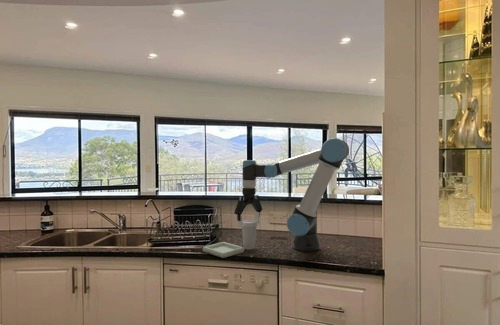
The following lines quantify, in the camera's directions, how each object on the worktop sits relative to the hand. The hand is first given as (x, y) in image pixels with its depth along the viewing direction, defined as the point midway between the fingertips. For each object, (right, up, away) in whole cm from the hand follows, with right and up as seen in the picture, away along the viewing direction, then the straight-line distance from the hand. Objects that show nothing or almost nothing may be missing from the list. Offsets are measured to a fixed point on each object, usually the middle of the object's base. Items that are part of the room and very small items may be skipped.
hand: (248, 224), depth 184 cm
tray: (-14, -13, -7) cm, 20 cm away
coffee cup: (0, -13, 0) cm, 13 cm away
